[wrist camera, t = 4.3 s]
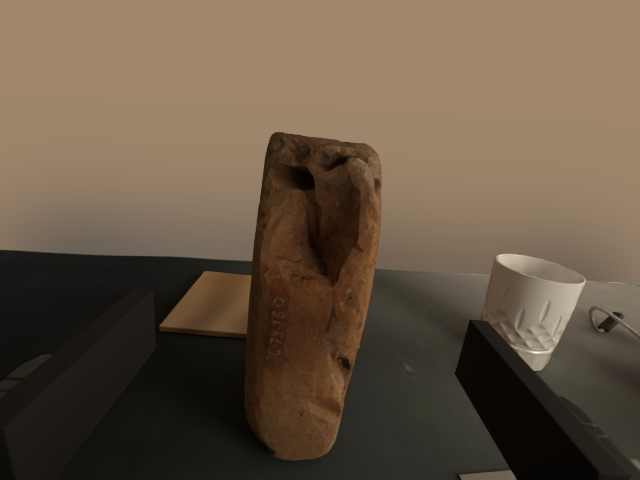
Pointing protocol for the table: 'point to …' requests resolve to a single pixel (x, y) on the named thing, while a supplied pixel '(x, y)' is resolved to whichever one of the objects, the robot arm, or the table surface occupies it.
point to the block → (309, 289)
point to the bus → (503, 474)
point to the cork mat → (213, 307)
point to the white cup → (531, 304)
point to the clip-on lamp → (610, 321)
